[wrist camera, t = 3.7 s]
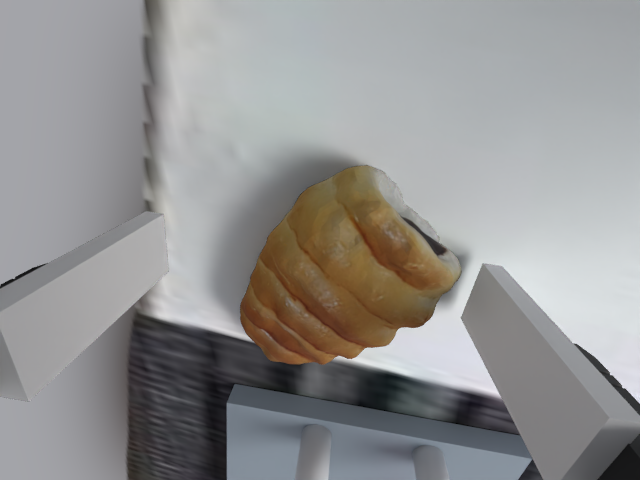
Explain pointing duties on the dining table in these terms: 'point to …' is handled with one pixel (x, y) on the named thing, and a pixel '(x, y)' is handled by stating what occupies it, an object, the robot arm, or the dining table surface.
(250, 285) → the pastry
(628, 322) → the dining table surface
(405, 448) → the tray
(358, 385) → the dining table surface
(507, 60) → the dining table surface
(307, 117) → the dining table surface
